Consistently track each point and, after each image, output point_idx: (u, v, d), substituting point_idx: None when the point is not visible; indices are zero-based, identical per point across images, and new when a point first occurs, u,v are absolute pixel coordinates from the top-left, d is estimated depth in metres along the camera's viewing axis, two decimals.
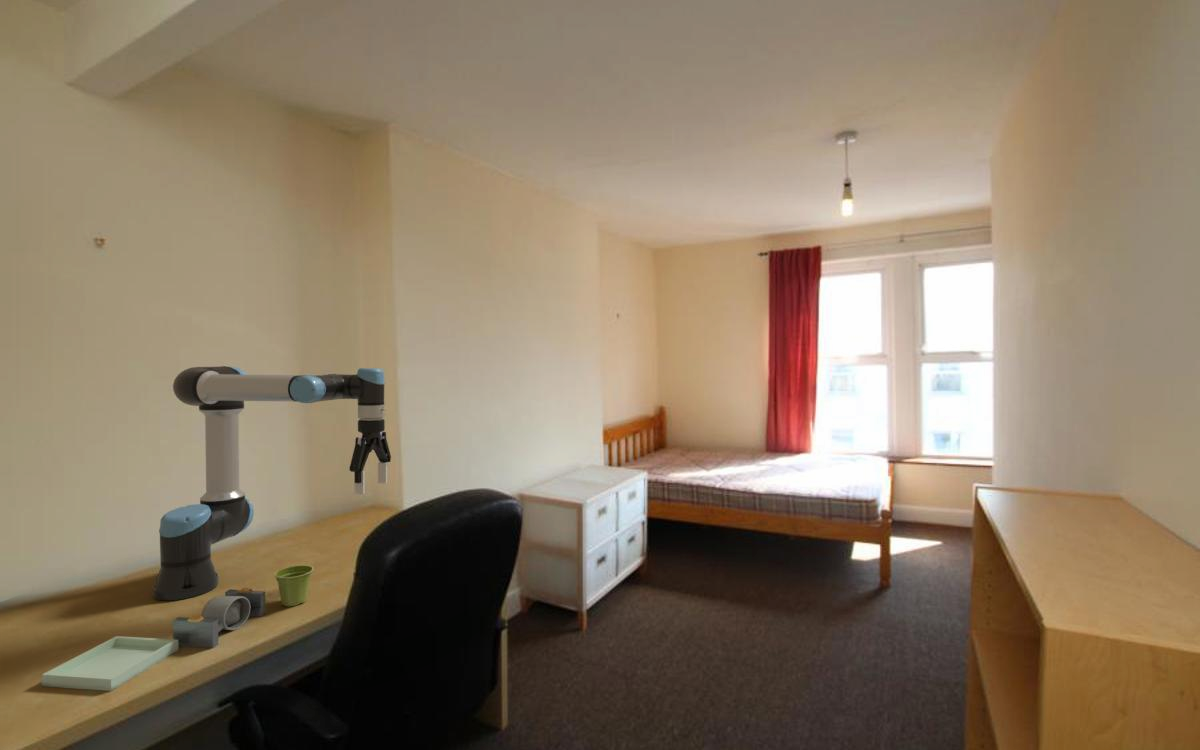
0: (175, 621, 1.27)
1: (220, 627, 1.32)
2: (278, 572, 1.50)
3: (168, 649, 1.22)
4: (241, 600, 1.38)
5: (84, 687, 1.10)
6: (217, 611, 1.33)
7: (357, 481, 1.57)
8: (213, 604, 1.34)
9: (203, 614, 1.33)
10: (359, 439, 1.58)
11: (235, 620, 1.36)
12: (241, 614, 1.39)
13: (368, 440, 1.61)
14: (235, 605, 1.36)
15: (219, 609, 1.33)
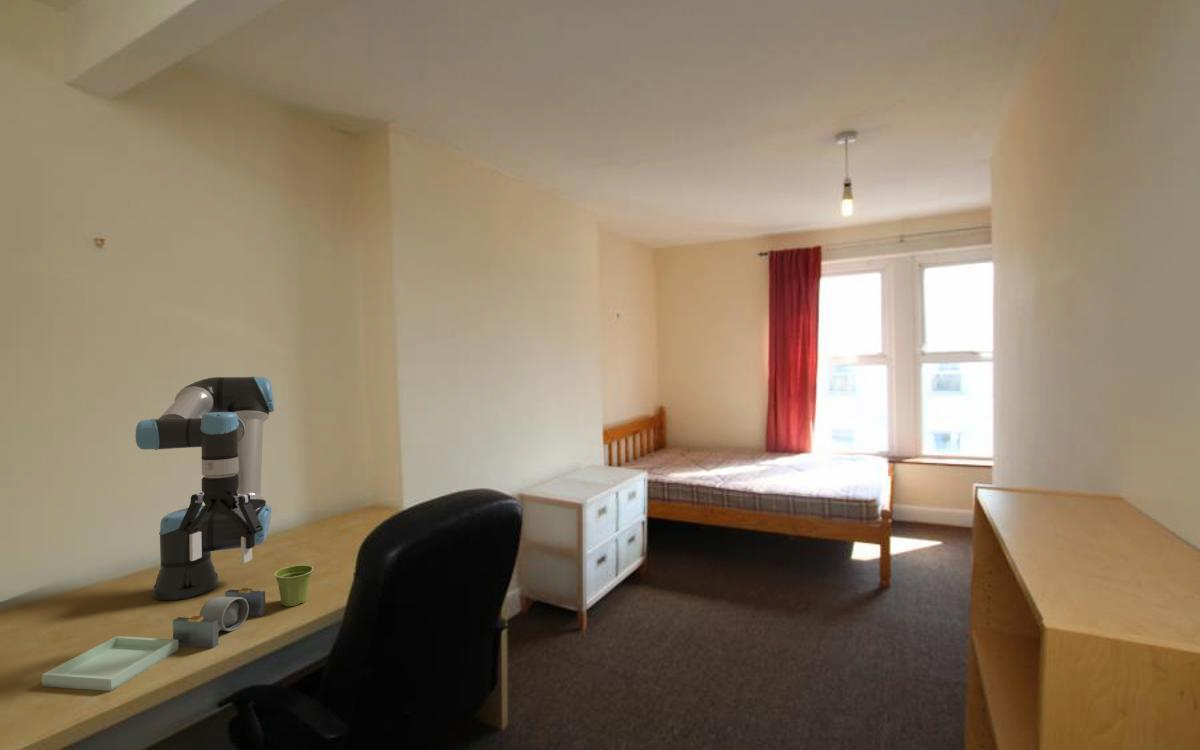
0: (175, 621, 1.27)
1: (218, 628, 1.31)
2: (278, 572, 1.50)
3: (168, 649, 1.22)
4: (239, 601, 1.38)
5: (84, 687, 1.10)
6: (215, 612, 1.32)
7: None
8: (211, 605, 1.33)
9: (201, 615, 1.33)
10: None
11: (233, 621, 1.36)
12: (239, 615, 1.38)
13: (203, 500, 1.33)
14: (233, 606, 1.35)
15: (217, 610, 1.32)
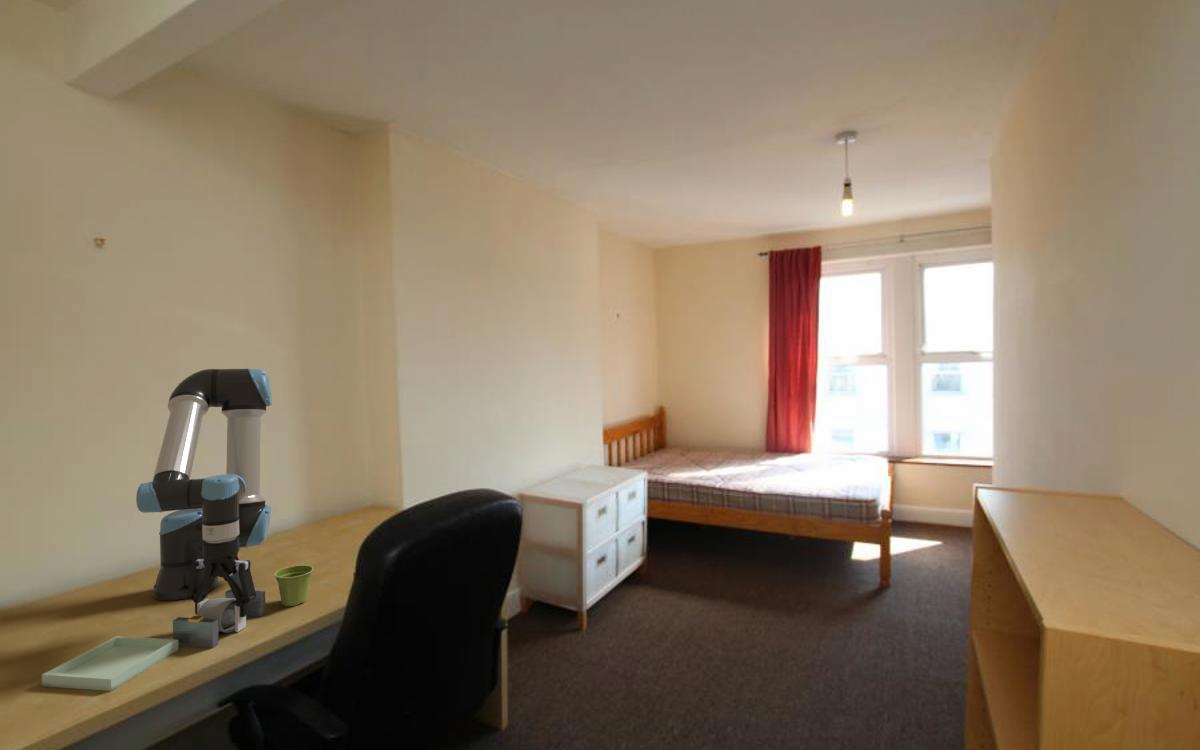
0: (175, 621, 1.27)
1: None
2: (278, 572, 1.50)
3: (168, 649, 1.22)
4: (237, 602, 1.37)
5: (84, 687, 1.10)
6: (213, 613, 1.31)
7: None
8: (209, 606, 1.33)
9: None
10: None
11: (231, 622, 1.35)
12: None
13: (204, 564, 1.34)
14: (231, 607, 1.35)
15: (215, 611, 1.31)
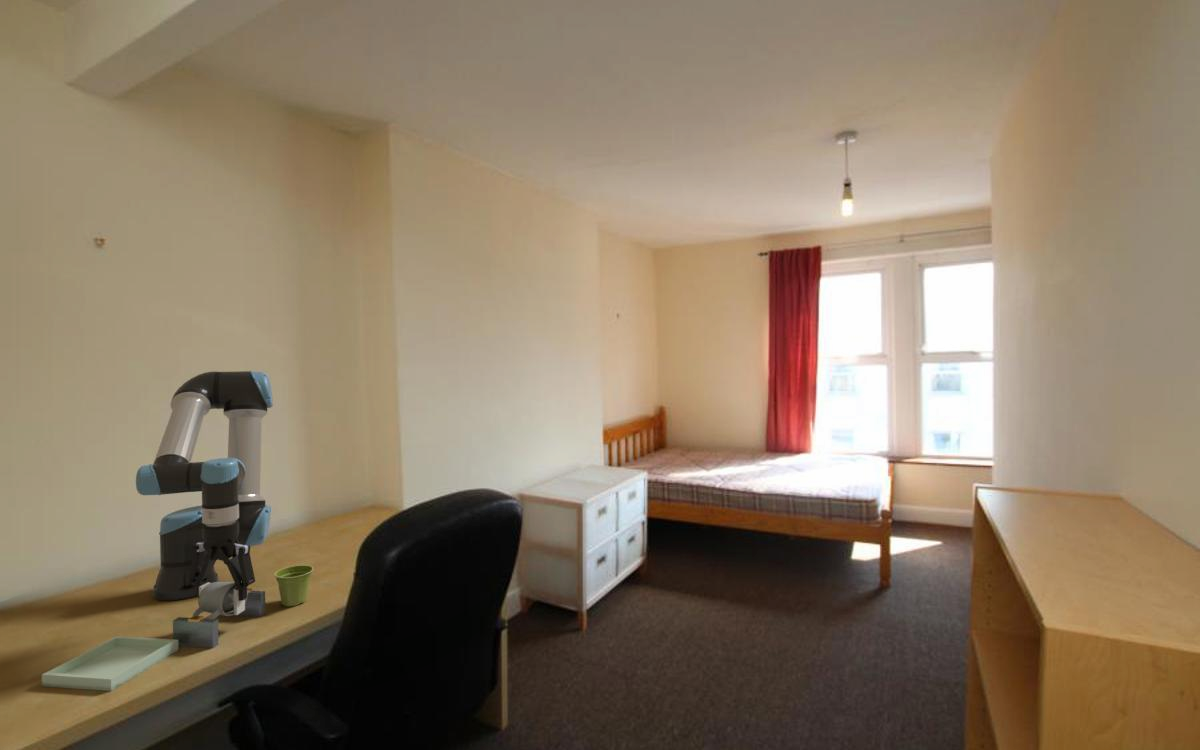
0: (175, 621, 1.27)
1: (217, 613, 1.31)
2: (278, 572, 1.50)
3: (168, 649, 1.22)
4: None
5: (84, 687, 1.10)
6: (214, 597, 1.32)
7: None
8: (210, 590, 1.33)
9: (200, 600, 1.32)
10: None
11: (232, 606, 1.35)
12: None
13: (204, 547, 1.34)
14: (232, 591, 1.35)
15: (216, 595, 1.32)
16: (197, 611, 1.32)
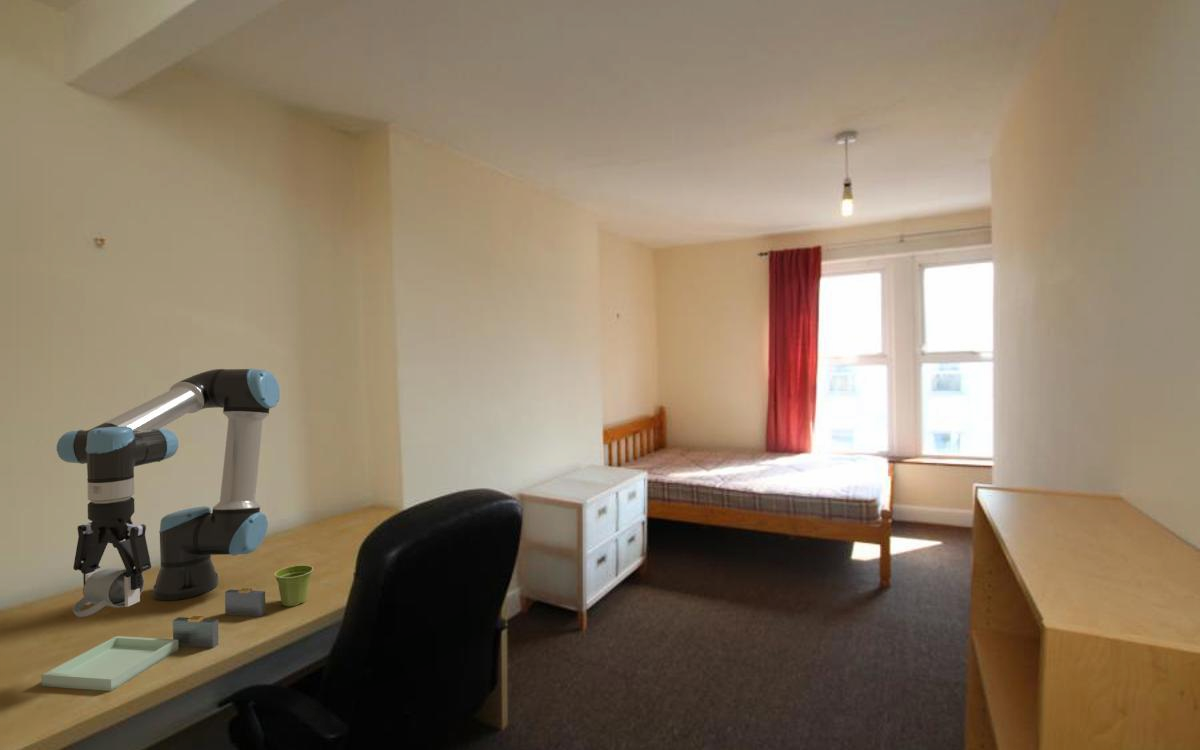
0: (175, 621, 1.27)
1: (103, 604, 1.13)
2: (278, 572, 1.50)
3: (168, 649, 1.22)
4: None
5: (84, 687, 1.10)
6: (100, 585, 1.14)
7: None
8: (97, 578, 1.15)
9: (84, 589, 1.15)
10: None
11: (124, 596, 1.17)
12: None
13: (92, 528, 1.16)
14: None
15: (102, 583, 1.14)
16: (80, 602, 1.14)
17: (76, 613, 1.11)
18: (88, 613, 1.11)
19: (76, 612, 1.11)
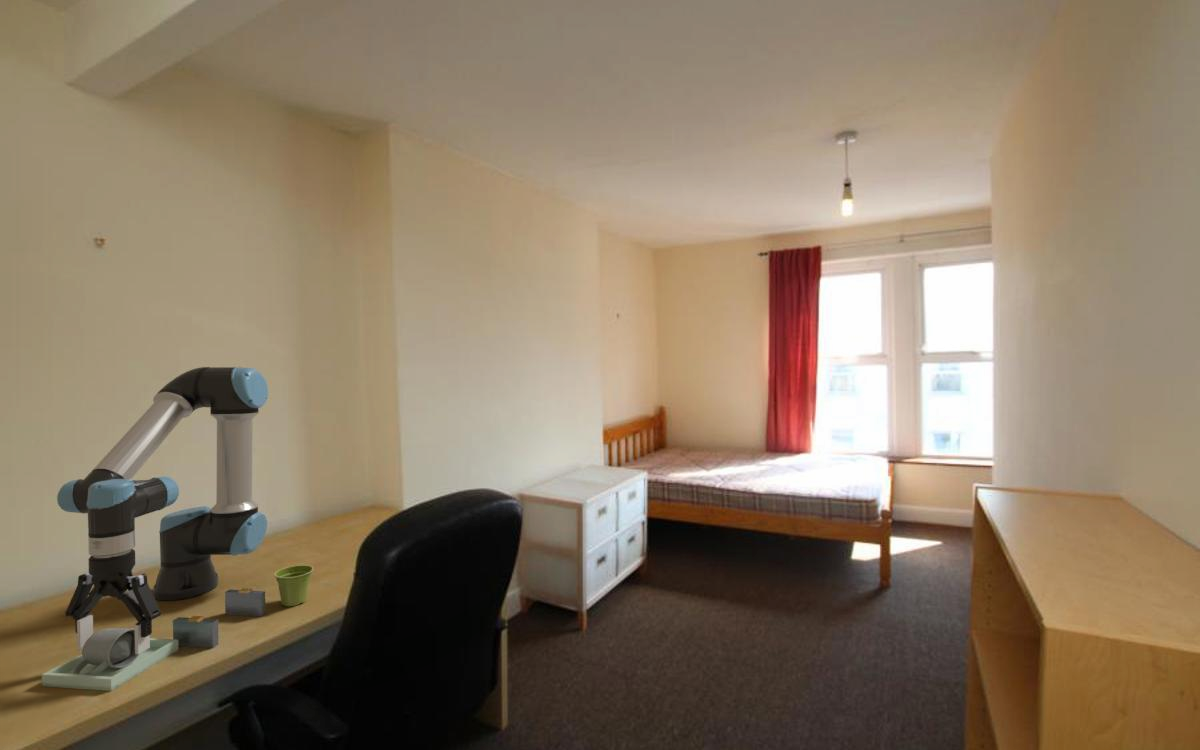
0: (175, 621, 1.27)
1: (104, 666, 1.14)
2: (278, 572, 1.50)
3: (168, 649, 1.22)
4: (133, 632, 1.20)
5: (84, 687, 1.10)
6: (100, 647, 1.14)
7: None
8: (96, 639, 1.16)
9: (84, 651, 1.15)
10: None
11: (124, 656, 1.18)
12: (133, 648, 1.21)
13: (92, 581, 1.17)
14: (124, 639, 1.18)
15: (103, 645, 1.15)
16: (80, 664, 1.14)
17: None
18: None
19: None
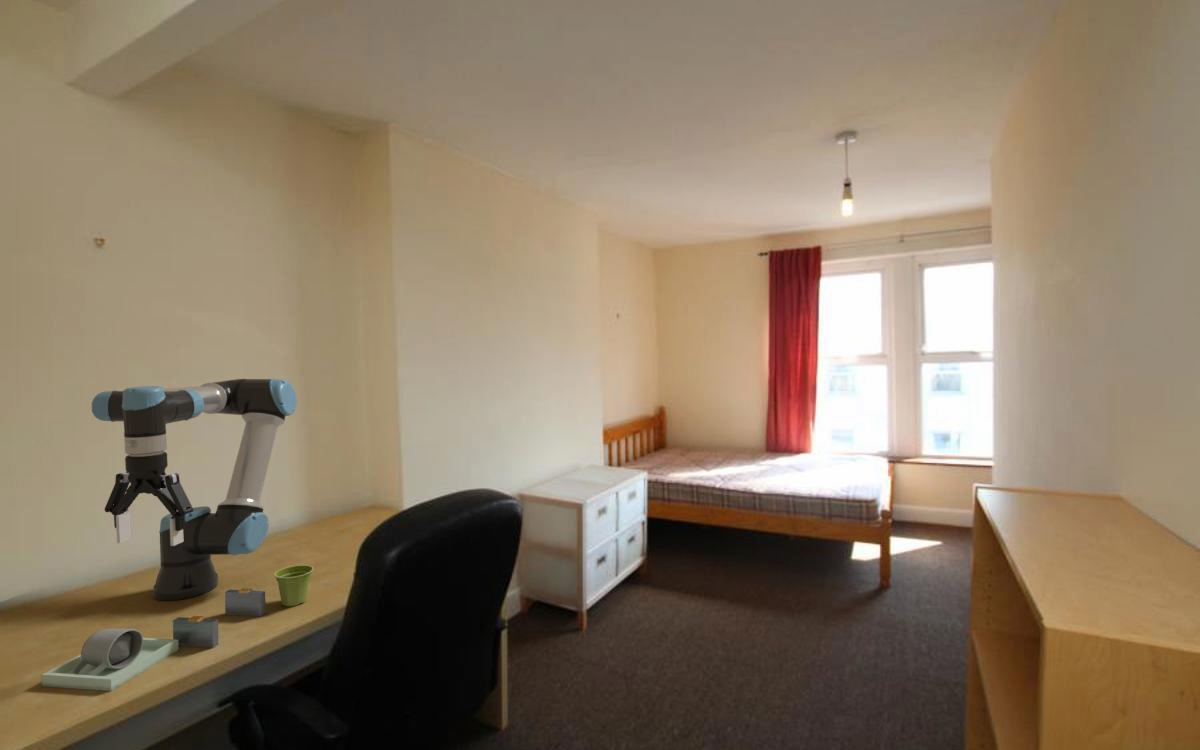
0: (175, 621, 1.27)
1: (103, 667, 1.13)
2: (278, 572, 1.50)
3: (168, 649, 1.22)
4: (132, 633, 1.20)
5: (84, 687, 1.10)
6: (99, 647, 1.14)
7: None
8: (95, 640, 1.16)
9: (83, 651, 1.15)
10: None
11: (123, 656, 1.18)
12: (132, 649, 1.20)
13: (129, 479, 1.26)
14: (123, 639, 1.18)
15: (102, 645, 1.14)
16: (79, 665, 1.14)
17: None
18: None
19: None
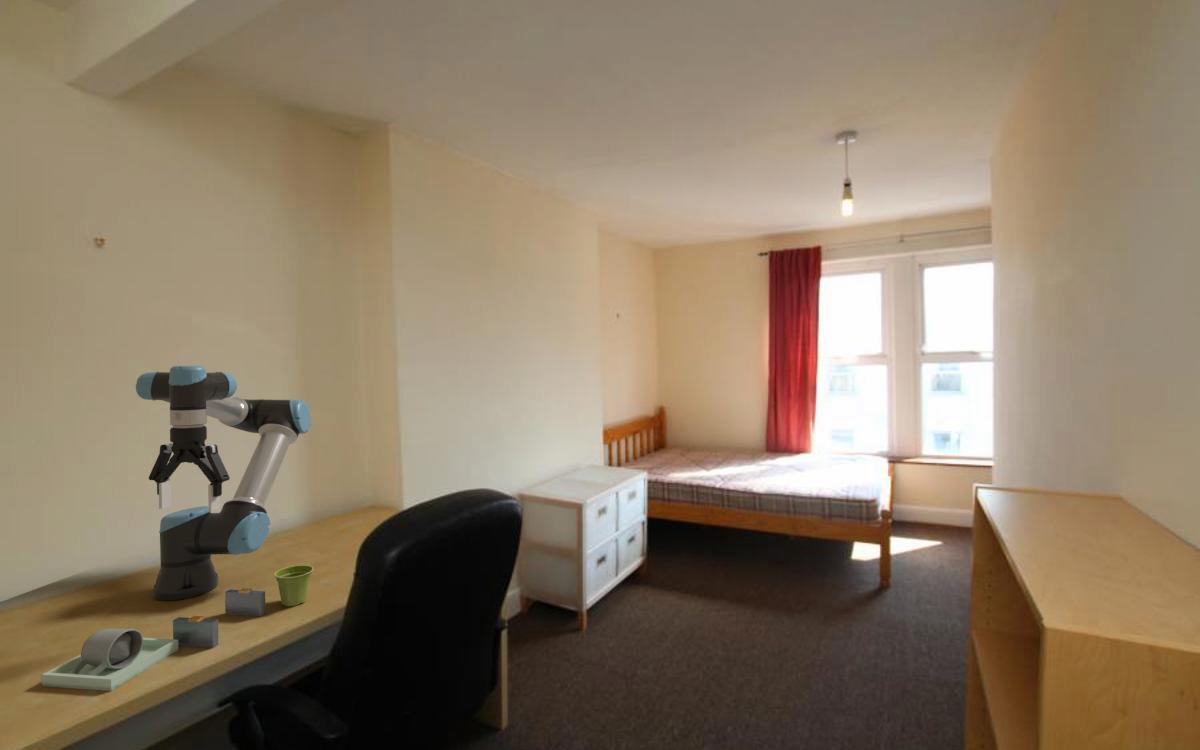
0: (175, 621, 1.27)
1: (103, 667, 1.13)
2: (278, 572, 1.50)
3: (168, 649, 1.22)
4: (132, 633, 1.20)
5: (84, 687, 1.10)
6: (99, 647, 1.14)
7: None
8: (95, 640, 1.16)
9: (83, 651, 1.15)
10: None
11: (123, 656, 1.18)
12: (132, 649, 1.20)
13: (172, 449, 1.38)
14: (123, 639, 1.18)
15: (102, 645, 1.14)
16: (79, 665, 1.14)
17: None
18: None
19: None
